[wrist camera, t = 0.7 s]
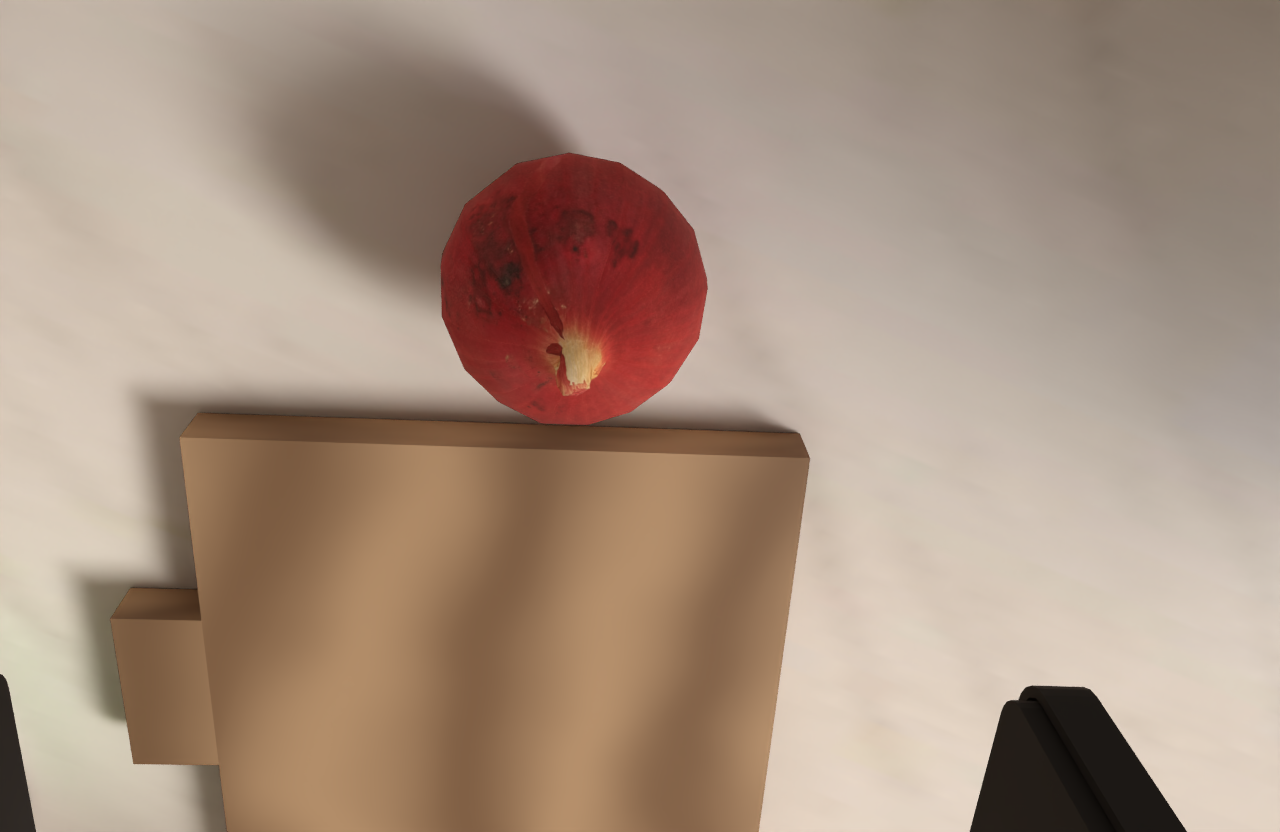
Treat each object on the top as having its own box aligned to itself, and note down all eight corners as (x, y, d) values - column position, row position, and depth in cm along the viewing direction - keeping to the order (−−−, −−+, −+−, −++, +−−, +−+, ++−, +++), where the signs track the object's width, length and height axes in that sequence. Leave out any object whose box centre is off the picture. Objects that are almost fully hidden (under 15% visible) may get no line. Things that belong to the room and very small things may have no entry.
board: (799, 433, 30) (809, 458, 29) (742, 869, 37) (748, 906, 36) (103, 409, 29) (80, 434, 28) (171, 865, 36) (155, 903, 34)
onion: (409, 226, 28) (347, 341, 20) (590, 75, 26) (594, 140, 19) (560, 393, 30) (554, 552, 22) (735, 261, 28) (788, 384, 21)
